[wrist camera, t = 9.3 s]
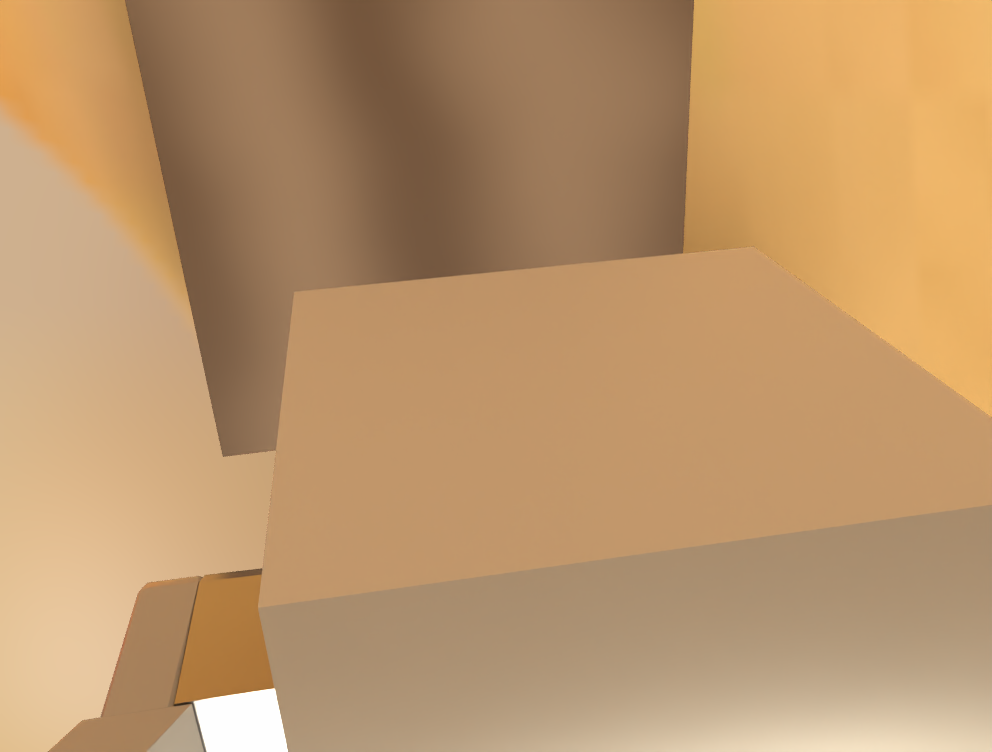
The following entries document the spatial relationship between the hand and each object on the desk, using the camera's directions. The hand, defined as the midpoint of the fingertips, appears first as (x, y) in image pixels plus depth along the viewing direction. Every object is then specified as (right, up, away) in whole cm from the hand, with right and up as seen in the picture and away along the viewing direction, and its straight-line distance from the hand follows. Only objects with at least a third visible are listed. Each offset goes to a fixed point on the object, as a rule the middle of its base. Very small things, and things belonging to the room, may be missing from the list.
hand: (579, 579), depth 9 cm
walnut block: (-3, +8, +17) cm, 19 cm away
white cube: (0, +1, +2) cm, 2 cm away
